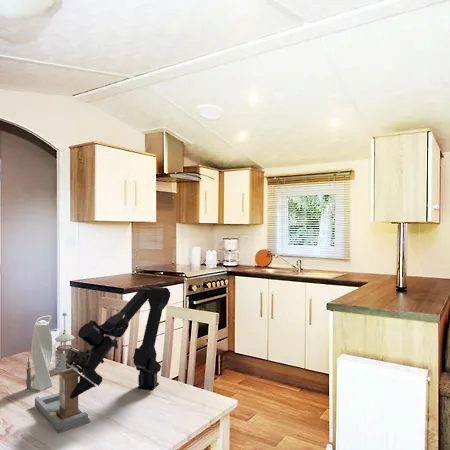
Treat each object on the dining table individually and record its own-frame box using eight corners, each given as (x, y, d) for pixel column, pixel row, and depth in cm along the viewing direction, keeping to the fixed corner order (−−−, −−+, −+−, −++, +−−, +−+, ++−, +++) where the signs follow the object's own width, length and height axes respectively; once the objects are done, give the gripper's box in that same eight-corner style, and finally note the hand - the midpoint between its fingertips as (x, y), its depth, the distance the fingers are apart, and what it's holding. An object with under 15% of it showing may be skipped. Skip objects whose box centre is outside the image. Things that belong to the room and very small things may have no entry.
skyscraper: (43, 382, 161) (42, 313, 161) (57, 385, 157) (57, 315, 157) (25, 390, 153) (24, 318, 153) (39, 394, 150) (39, 320, 150)
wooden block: (56, 415, 130) (56, 371, 130) (74, 409, 134) (74, 367, 134) (62, 422, 125) (62, 376, 125) (81, 416, 129) (81, 372, 129)
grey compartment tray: (33, 406, 139) (33, 396, 139) (63, 397, 145) (63, 388, 145) (56, 433, 121) (56, 421, 121) (89, 422, 127) (89, 410, 127)
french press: (53, 374, 168) (53, 316, 168) (51, 366, 179) (51, 311, 179) (78, 370, 173) (77, 313, 173) (74, 362, 183) (74, 308, 183)
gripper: (71, 333, 139) (38, 372, 132) (92, 345, 125) (57, 389, 118) (93, 351, 144) (62, 389, 137) (116, 364, 130) (83, 407, 123)
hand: (65, 393), depth 129 cm, fingers open, 9 cm apart
